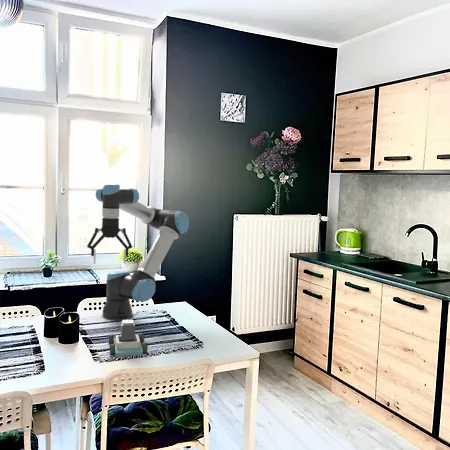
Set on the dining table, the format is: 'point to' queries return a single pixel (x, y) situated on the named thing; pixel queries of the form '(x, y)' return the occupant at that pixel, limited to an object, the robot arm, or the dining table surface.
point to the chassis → (127, 346)
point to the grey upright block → (127, 331)
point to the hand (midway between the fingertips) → (109, 263)
